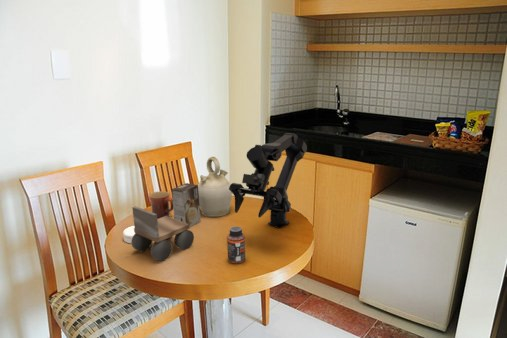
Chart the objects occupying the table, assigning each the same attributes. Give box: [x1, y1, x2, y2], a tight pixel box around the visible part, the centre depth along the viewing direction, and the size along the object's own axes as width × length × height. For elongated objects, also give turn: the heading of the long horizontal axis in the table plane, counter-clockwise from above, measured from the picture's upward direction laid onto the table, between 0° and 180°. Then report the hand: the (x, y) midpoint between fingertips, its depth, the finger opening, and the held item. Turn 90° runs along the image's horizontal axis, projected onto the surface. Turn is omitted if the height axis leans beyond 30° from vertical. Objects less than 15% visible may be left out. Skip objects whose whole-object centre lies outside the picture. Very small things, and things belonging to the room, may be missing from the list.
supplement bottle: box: [226, 226, 246, 264], centre depth 129 cm, size 6×6×11 cm
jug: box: [197, 156, 233, 218], centre depth 168 cm, size 15×16×25 cm
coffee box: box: [171, 182, 201, 228], centre depth 158 cm, size 9×6×16 cm
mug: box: [148, 190, 174, 219], centre depth 165 cm, size 12×9×10 cm
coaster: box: [122, 225, 135, 244], centre depth 148 cm, size 10×10×4 cm
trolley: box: [130, 206, 195, 262], centre depth 137 cm, size 17×13×17 cm
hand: (247, 214), depth 133 cm, fingers open, 9 cm apart
